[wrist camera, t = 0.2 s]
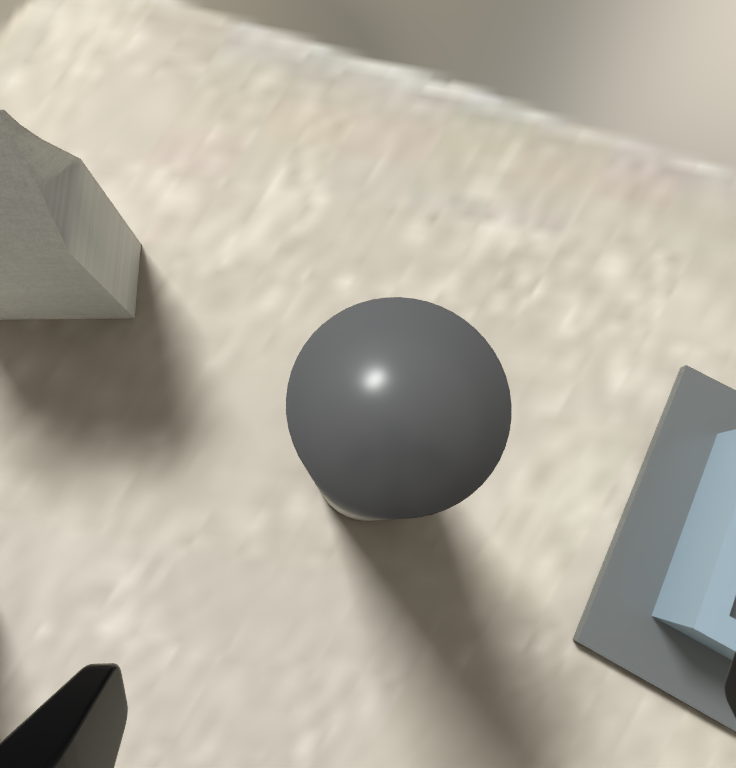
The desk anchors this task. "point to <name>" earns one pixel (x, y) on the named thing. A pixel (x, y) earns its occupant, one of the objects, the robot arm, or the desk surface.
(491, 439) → the plug
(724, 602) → the dock
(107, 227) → the grey chamfered block
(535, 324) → the desk surface
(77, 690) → the robot arm
